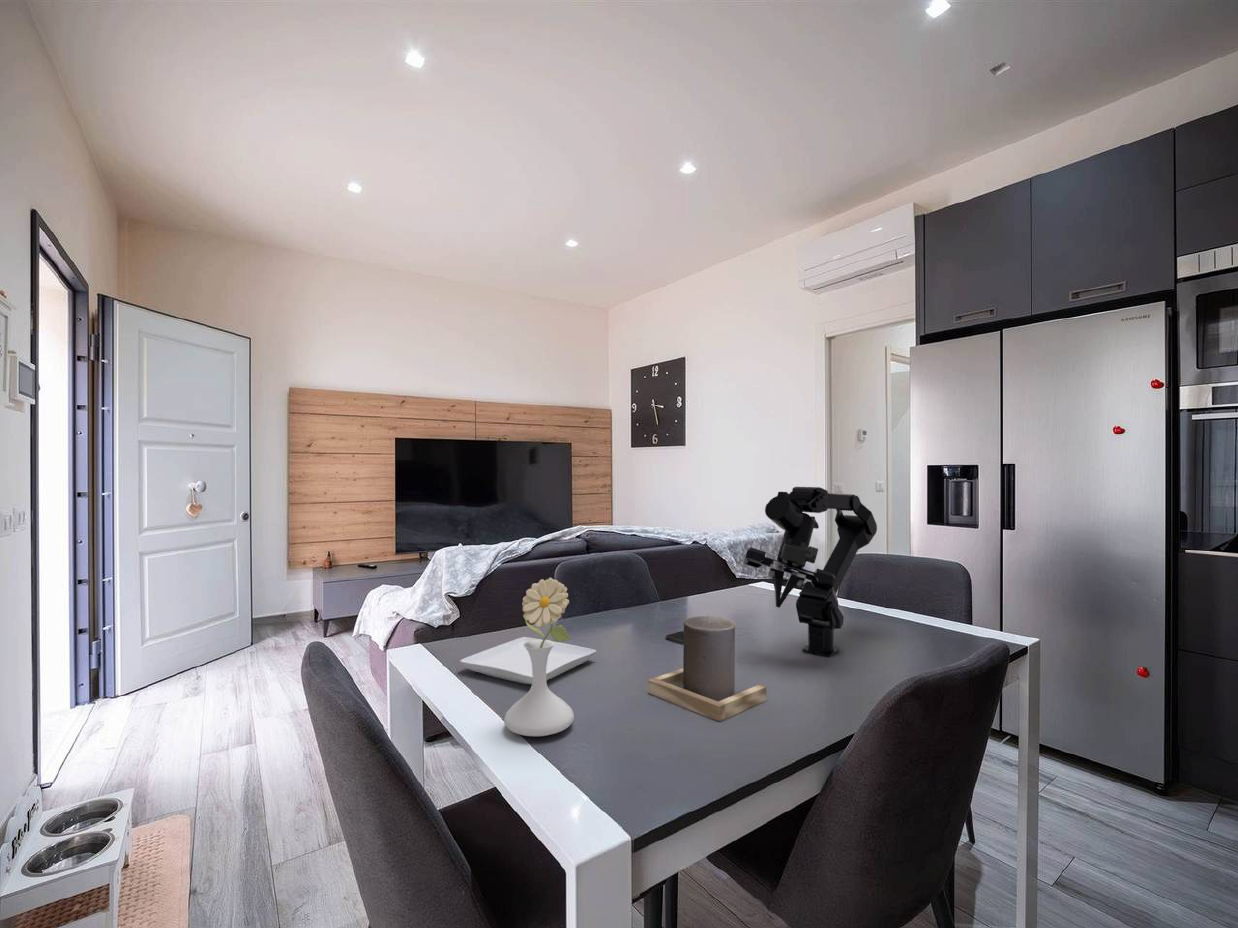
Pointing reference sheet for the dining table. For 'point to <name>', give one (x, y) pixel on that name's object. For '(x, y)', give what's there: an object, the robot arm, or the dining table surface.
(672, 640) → the phone
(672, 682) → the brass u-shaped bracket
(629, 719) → the dining table surface
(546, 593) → the flower in vase
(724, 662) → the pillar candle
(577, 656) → the salad plate
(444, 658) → the dining table surface
